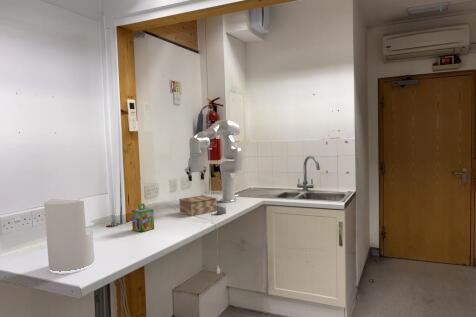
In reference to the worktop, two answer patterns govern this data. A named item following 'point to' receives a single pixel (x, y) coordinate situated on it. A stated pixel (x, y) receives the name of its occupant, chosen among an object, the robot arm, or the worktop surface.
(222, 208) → the grey knob post
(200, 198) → the lid
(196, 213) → the storage box
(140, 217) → the green lunch box
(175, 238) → the worktop surface
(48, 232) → the cylinder
